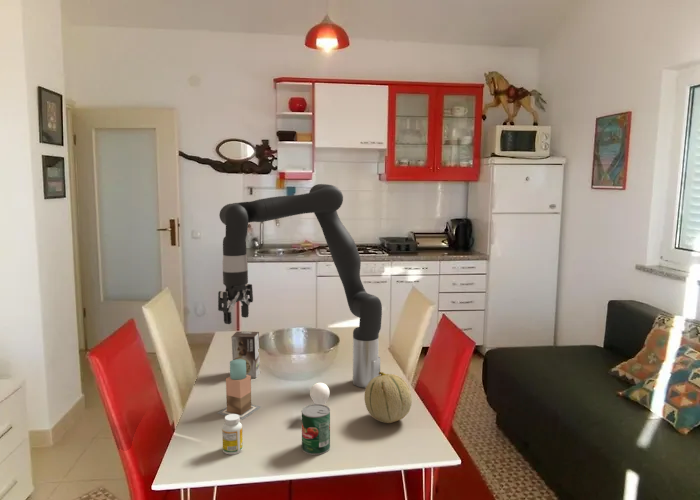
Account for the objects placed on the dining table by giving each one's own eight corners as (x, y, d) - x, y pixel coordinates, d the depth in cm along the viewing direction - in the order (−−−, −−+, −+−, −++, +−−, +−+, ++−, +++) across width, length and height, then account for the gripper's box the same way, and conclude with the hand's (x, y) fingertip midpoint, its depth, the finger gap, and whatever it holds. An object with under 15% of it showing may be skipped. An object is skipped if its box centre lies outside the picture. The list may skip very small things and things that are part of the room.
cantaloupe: (404, 435, 152) (405, 386, 150) (357, 426, 157) (357, 379, 155) (416, 413, 166) (417, 368, 164) (372, 406, 171) (372, 362, 169)
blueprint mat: (261, 408, 169) (261, 406, 169) (242, 421, 160) (242, 419, 160) (236, 402, 174) (236, 400, 174) (216, 415, 165) (216, 412, 165)
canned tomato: (296, 451, 143) (296, 413, 141) (308, 438, 150) (308, 402, 149) (323, 457, 140) (323, 418, 139) (334, 443, 147) (334, 406, 146)
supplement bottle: (230, 457, 140) (229, 423, 139) (218, 450, 143) (217, 417, 142) (246, 449, 144) (246, 416, 143) (234, 443, 147) (233, 410, 146)
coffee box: (260, 372, 201) (259, 331, 199) (256, 378, 195) (255, 336, 193) (237, 371, 202) (236, 330, 200) (232, 377, 196) (231, 335, 193)
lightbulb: (332, 414, 166) (332, 381, 164) (325, 422, 160) (325, 388, 158) (314, 411, 168) (314, 378, 166) (307, 419, 162) (306, 385, 160)
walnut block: (251, 408, 168) (251, 391, 168) (240, 415, 163) (240, 398, 163) (237, 404, 171) (237, 388, 170) (226, 411, 166) (226, 395, 165)
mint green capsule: (249, 375, 167) (249, 360, 166) (239, 381, 162) (239, 365, 161) (236, 373, 169) (236, 358, 168) (226, 378, 164) (226, 363, 164)
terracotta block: (251, 391, 168) (250, 375, 167) (240, 398, 163) (240, 381, 162) (237, 388, 170) (236, 372, 169) (226, 395, 165) (225, 378, 164)
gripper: (230, 273, 153) (232, 327, 155) (258, 266, 165) (259, 316, 168) (210, 271, 156) (212, 324, 158) (239, 264, 169) (240, 313, 171)
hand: (236, 320), depth 163 cm, fingers open, 8 cm apart
